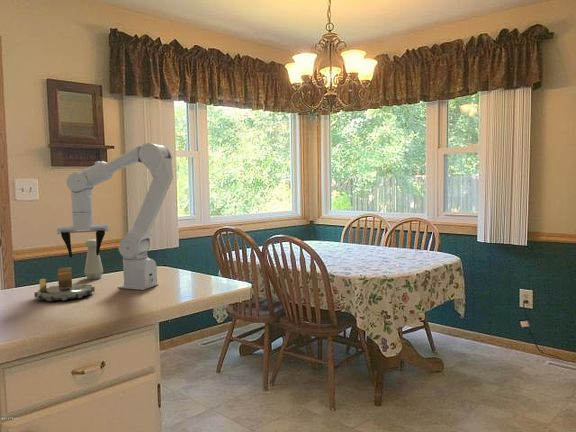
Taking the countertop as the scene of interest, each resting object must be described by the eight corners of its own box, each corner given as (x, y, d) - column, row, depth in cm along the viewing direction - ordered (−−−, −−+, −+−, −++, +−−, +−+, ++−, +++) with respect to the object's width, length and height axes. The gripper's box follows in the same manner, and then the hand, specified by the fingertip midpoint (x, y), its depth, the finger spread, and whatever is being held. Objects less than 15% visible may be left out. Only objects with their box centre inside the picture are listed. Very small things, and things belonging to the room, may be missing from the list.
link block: (72, 287, 141) (71, 270, 141) (58, 288, 140) (57, 271, 139) (72, 283, 146) (71, 267, 145) (59, 284, 144) (58, 268, 144)
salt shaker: (96, 280, 160) (94, 240, 159) (81, 279, 161) (79, 240, 160) (106, 276, 166) (105, 238, 165) (91, 276, 167) (89, 238, 166)
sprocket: (95, 296, 134) (94, 280, 134) (32, 303, 128) (31, 285, 128) (93, 285, 148) (93, 270, 148) (37, 291, 142) (36, 275, 142)
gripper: (106, 210, 157) (108, 252, 158) (56, 212, 151) (58, 255, 152) (108, 211, 151) (109, 255, 152) (55, 213, 145) (58, 259, 146)
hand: (84, 255), depth 151 cm, fingers open, 7 cm apart
